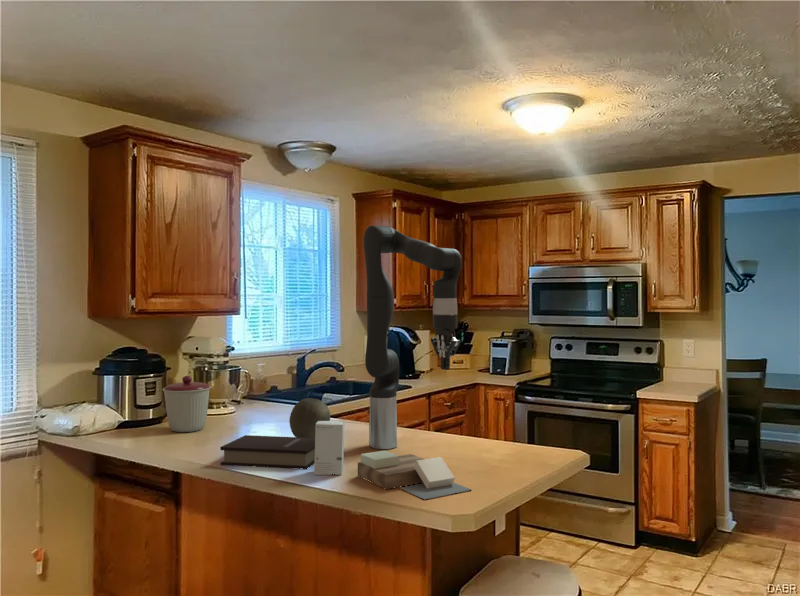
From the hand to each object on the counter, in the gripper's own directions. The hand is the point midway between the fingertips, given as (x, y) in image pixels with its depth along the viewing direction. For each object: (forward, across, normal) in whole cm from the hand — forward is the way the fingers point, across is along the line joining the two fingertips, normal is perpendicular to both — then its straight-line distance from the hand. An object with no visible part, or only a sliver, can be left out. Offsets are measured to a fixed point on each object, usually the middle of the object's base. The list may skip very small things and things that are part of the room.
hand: (445, 369), depth 204 cm
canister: (+30, -96, -55) cm, 115 cm away
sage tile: (+25, +3, -25) cm, 36 cm away
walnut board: (+29, +6, -20) cm, 36 cm away
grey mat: (+29, +21, -18) cm, 40 cm away
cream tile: (+26, +17, -16) cm, 35 cm away
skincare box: (+29, -10, -35) cm, 46 cm away
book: (+30, -34, -42) cm, 62 cm away
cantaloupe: (+29, -53, -22) cm, 64 cm away
